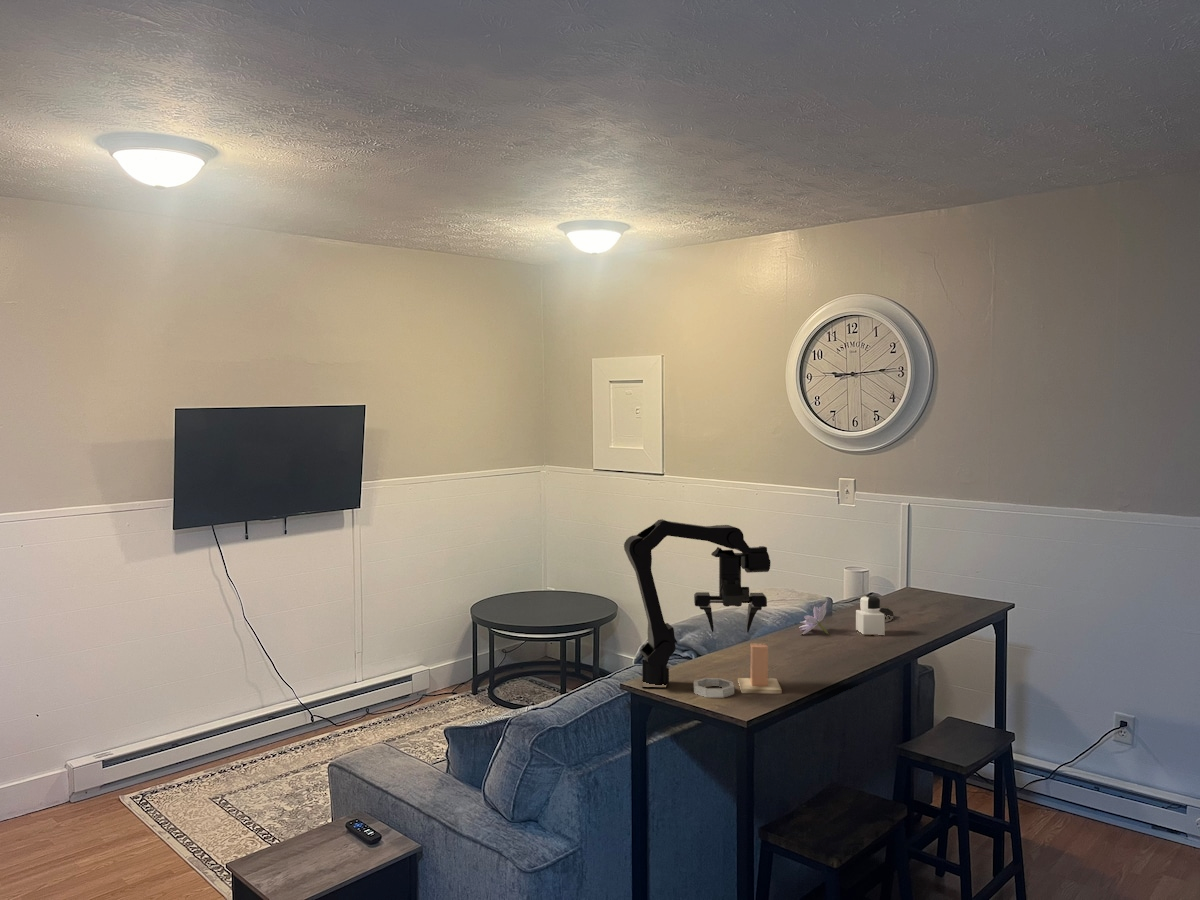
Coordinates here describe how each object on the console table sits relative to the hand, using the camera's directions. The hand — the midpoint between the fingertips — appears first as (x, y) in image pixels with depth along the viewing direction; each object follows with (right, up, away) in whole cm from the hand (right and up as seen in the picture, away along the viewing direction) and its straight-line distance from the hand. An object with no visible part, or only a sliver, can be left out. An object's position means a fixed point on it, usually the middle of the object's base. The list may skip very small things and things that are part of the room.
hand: (730, 631), depth 234 cm
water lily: (+35, -12, +54) cm, 66 cm away
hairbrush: (+60, -12, +69) cm, 92 cm away
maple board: (+7, -13, -6) cm, 16 cm away
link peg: (+7, -12, -6) cm, 15 cm away
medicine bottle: (+53, -12, +52) cm, 76 cm away
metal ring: (-6, -13, -9) cm, 17 cm away
